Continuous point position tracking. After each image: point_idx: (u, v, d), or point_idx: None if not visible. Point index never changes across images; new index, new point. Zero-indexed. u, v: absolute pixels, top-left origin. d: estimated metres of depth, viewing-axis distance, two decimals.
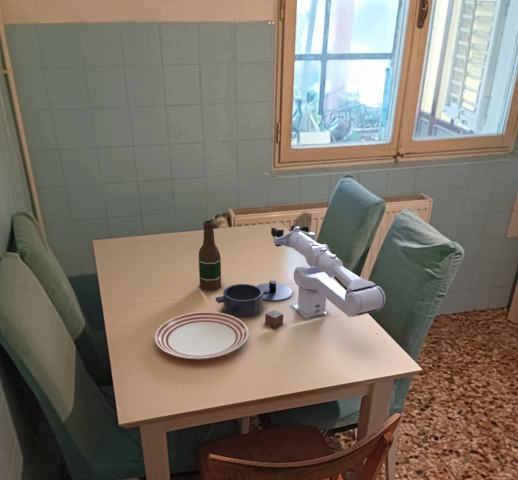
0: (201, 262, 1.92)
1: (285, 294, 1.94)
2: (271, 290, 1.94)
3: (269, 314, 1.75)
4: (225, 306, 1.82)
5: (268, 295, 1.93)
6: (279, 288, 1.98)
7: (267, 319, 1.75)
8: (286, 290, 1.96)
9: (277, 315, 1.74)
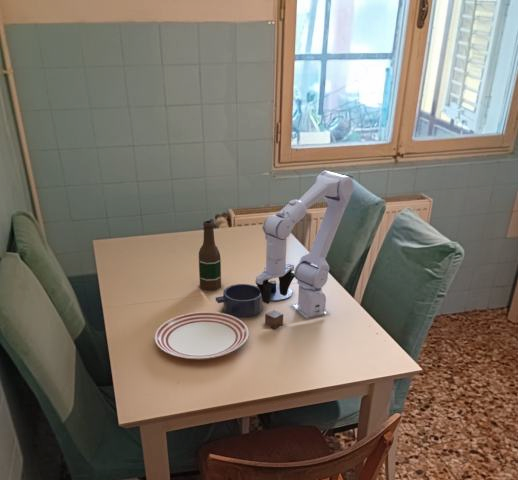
0: (201, 262, 1.92)
1: None
2: (271, 290, 1.94)
3: (269, 314, 1.75)
4: (225, 306, 1.82)
5: None
6: (279, 288, 1.98)
7: (267, 319, 1.75)
8: None
9: (277, 315, 1.74)
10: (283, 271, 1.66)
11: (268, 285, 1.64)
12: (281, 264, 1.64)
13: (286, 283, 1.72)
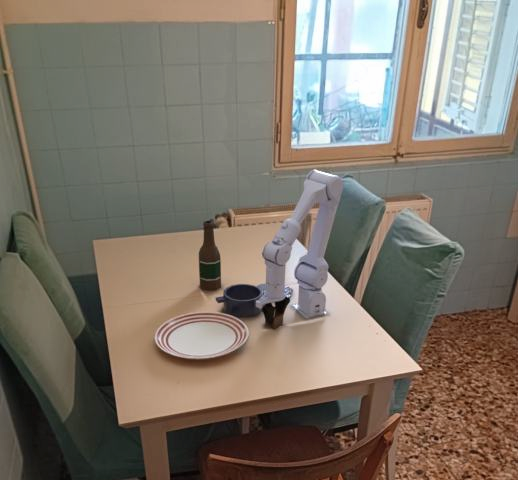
0: (201, 262, 1.92)
1: None
2: None
3: None
4: (225, 306, 1.82)
5: None
6: None
7: None
8: None
9: (277, 315, 1.74)
10: (282, 295, 1.70)
11: (271, 307, 1.69)
12: (280, 289, 1.68)
13: (282, 308, 1.75)
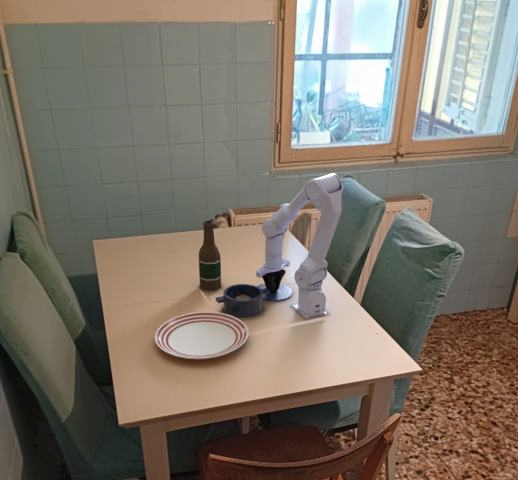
0: (201, 262, 1.92)
1: (285, 294, 1.94)
2: None
3: (238, 297, 1.83)
4: (225, 306, 1.82)
5: (268, 295, 1.93)
6: None
7: None
8: (286, 290, 1.96)
9: (246, 299, 1.82)
10: (280, 266, 1.89)
11: (271, 276, 1.89)
12: (278, 260, 1.87)
13: (278, 279, 1.93)
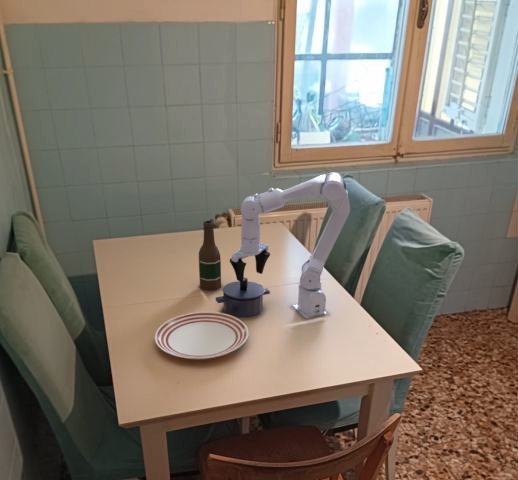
0: (201, 262, 1.92)
1: (256, 292, 1.80)
2: (242, 288, 1.81)
3: None
4: (225, 306, 1.82)
5: (238, 293, 1.80)
6: (251, 286, 1.84)
7: None
8: (259, 288, 1.83)
9: (246, 299, 1.82)
10: (257, 250, 1.76)
11: (241, 263, 1.74)
12: (255, 243, 1.75)
13: (262, 261, 1.83)
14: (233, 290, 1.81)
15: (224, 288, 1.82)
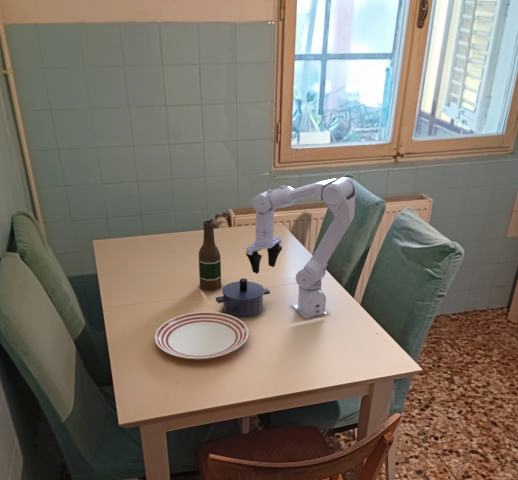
0: (201, 262, 1.92)
1: (256, 293, 1.80)
2: (241, 289, 1.81)
3: None
4: (225, 306, 1.82)
5: (238, 294, 1.80)
6: (251, 287, 1.84)
7: None
8: (259, 289, 1.83)
9: None
10: (271, 243, 1.82)
11: (257, 256, 1.80)
12: (269, 237, 1.80)
13: (274, 255, 1.88)
14: (233, 291, 1.82)
15: (224, 289, 1.83)
